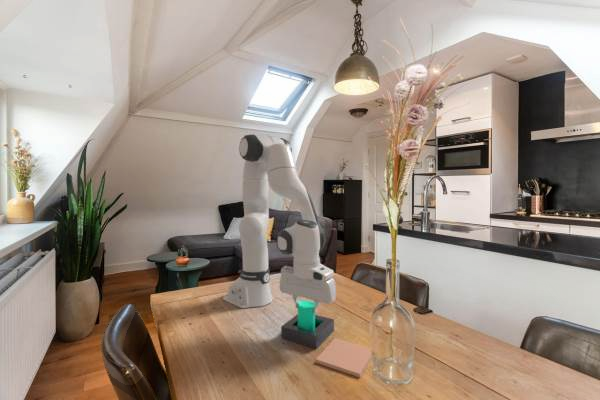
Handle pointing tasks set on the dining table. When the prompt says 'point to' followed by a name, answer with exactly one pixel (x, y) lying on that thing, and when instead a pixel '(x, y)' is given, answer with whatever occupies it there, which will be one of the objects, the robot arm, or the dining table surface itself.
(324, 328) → the holder
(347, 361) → the tile
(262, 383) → the dining table surface
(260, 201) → the robot arm
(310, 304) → the candle
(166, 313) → the dining table surface
